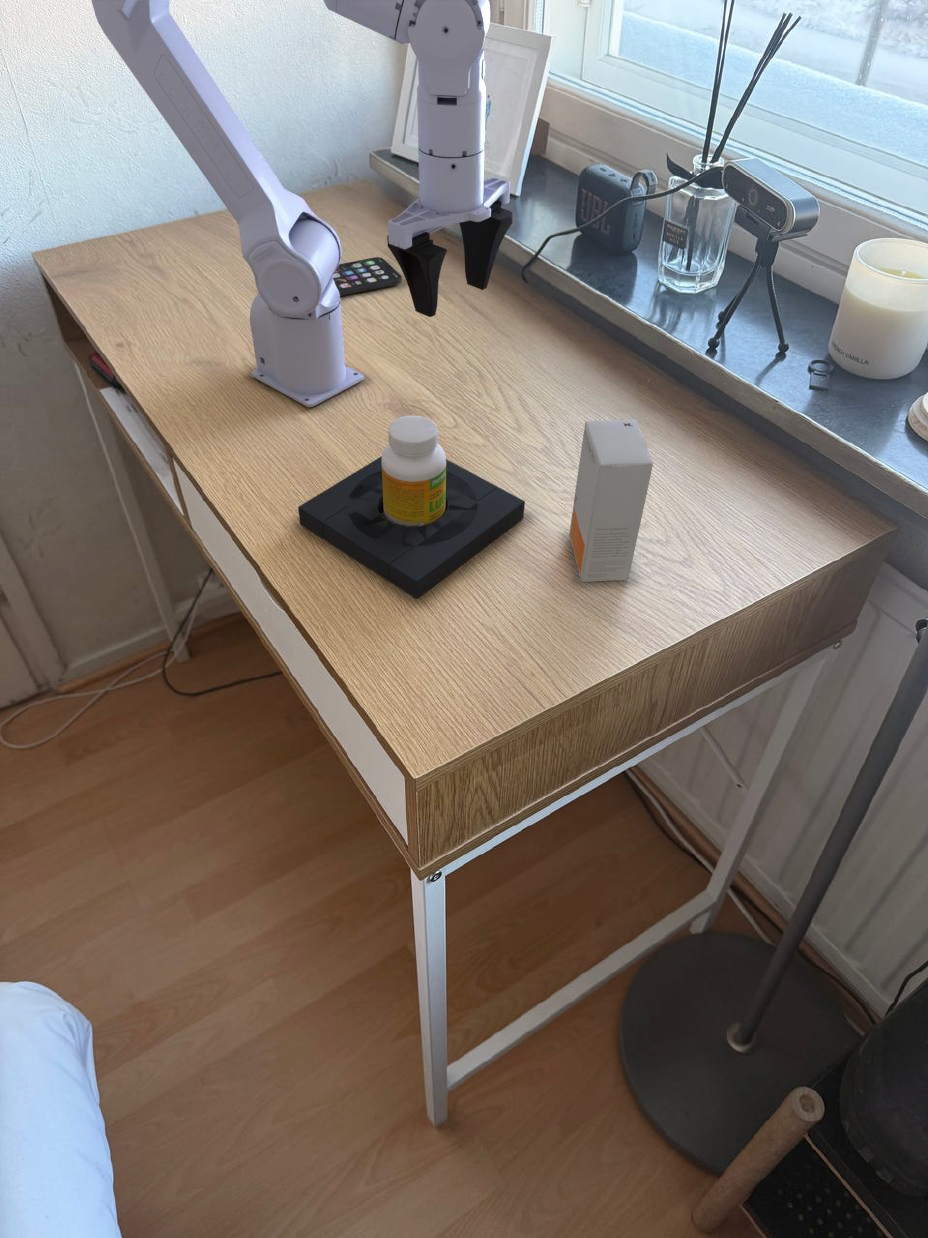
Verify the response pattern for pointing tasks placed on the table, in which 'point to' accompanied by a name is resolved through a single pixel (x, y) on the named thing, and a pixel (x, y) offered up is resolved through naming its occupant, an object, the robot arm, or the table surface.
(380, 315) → the table surface
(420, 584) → the socket pad
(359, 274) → the smartphone
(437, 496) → the supplement bottle
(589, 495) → the cosmetic box
